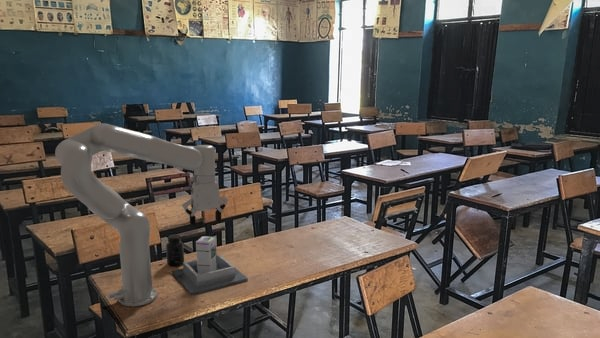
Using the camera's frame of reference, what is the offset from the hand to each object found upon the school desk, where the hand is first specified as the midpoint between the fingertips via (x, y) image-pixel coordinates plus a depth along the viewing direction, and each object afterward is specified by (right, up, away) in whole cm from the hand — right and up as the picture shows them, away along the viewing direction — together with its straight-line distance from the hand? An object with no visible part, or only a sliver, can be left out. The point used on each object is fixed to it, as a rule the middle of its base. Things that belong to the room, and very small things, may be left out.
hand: (205, 223), depth 168 cm
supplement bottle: (-16, -19, +17) cm, 30 cm away
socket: (0, -21, +4) cm, 21 cm away
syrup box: (0, -20, +4) cm, 21 cm away
